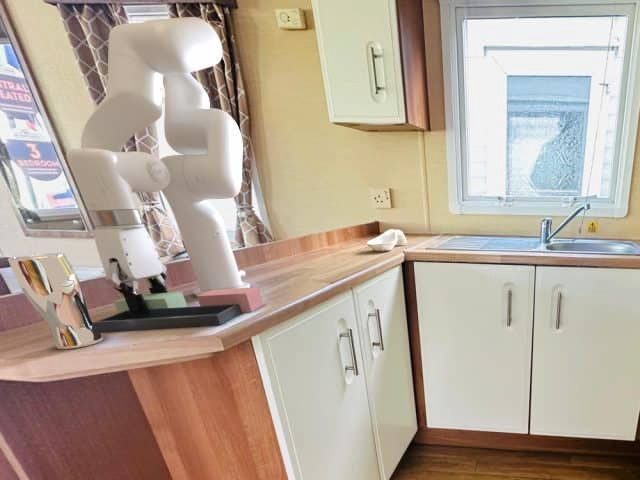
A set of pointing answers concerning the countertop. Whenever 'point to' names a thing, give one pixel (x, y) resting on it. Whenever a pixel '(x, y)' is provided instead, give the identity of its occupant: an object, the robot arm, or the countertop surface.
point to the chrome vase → (56, 298)
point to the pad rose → (233, 298)
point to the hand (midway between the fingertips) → (152, 308)
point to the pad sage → (156, 301)
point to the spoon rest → (387, 241)
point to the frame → (169, 318)
